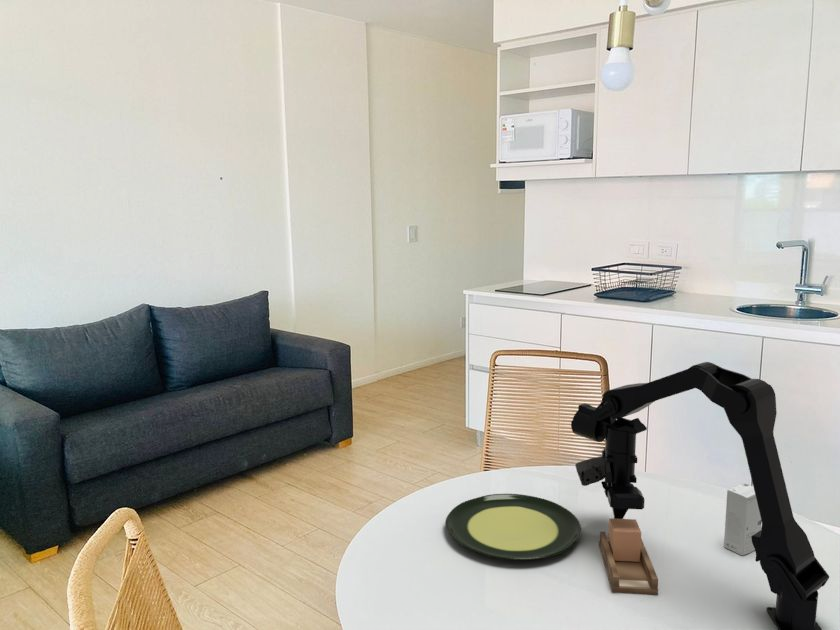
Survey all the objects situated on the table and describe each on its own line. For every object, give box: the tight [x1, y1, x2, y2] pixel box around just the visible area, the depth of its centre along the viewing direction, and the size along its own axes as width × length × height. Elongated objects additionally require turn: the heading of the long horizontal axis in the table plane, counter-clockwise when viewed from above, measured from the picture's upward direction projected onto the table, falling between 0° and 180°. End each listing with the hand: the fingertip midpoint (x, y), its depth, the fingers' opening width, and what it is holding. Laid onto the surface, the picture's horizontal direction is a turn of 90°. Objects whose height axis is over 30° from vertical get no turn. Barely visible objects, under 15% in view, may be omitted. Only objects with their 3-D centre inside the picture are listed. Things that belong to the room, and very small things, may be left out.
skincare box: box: [723, 483, 762, 556], centre depth 130 cm, size 6×4×12 cm
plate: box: [444, 493, 582, 561], centre depth 138 cm, size 28×28×2 cm
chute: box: [598, 531, 659, 596], centre depth 123 cm, size 16×8×3 cm, turn 173°
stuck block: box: [608, 517, 642, 562], centre depth 126 cm, size 5×5×6 cm
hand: (617, 521), depth 134 cm, fingers closed
